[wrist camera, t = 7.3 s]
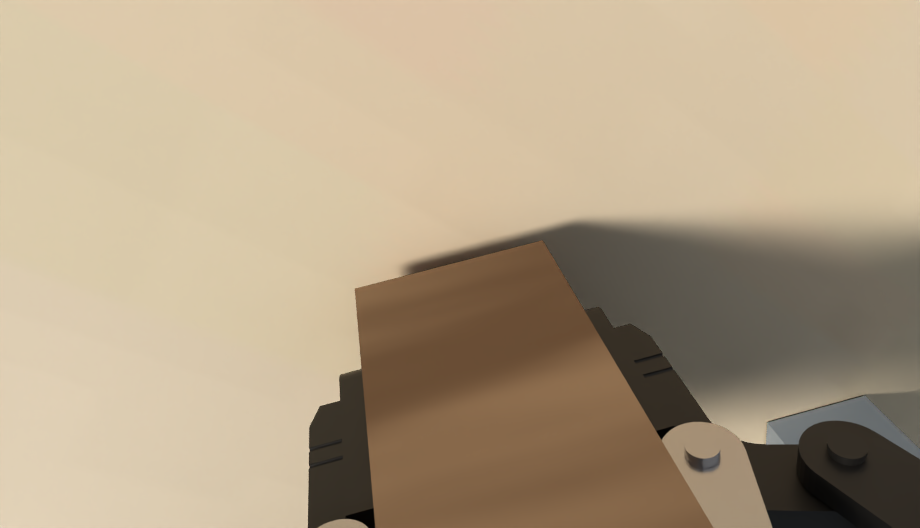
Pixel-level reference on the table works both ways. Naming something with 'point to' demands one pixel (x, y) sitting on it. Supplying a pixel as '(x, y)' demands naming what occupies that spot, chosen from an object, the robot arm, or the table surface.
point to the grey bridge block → (849, 411)
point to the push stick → (505, 406)
